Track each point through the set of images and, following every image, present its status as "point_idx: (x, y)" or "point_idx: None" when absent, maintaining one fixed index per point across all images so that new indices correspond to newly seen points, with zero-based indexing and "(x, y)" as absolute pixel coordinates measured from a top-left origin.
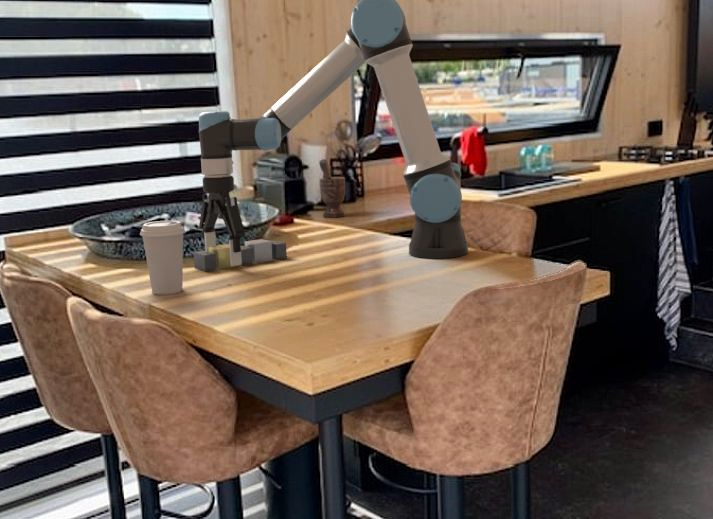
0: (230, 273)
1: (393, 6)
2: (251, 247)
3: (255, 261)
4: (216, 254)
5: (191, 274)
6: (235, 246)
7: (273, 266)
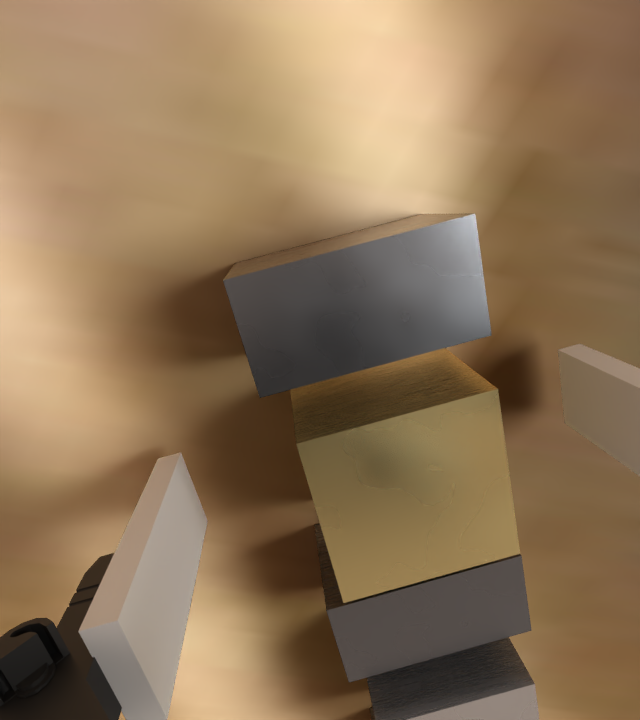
0: (85, 415)
1: None
2: (411, 681)
3: None
4: (331, 408)
5: (182, 133)
6: (70, 607)
7: (192, 670)
